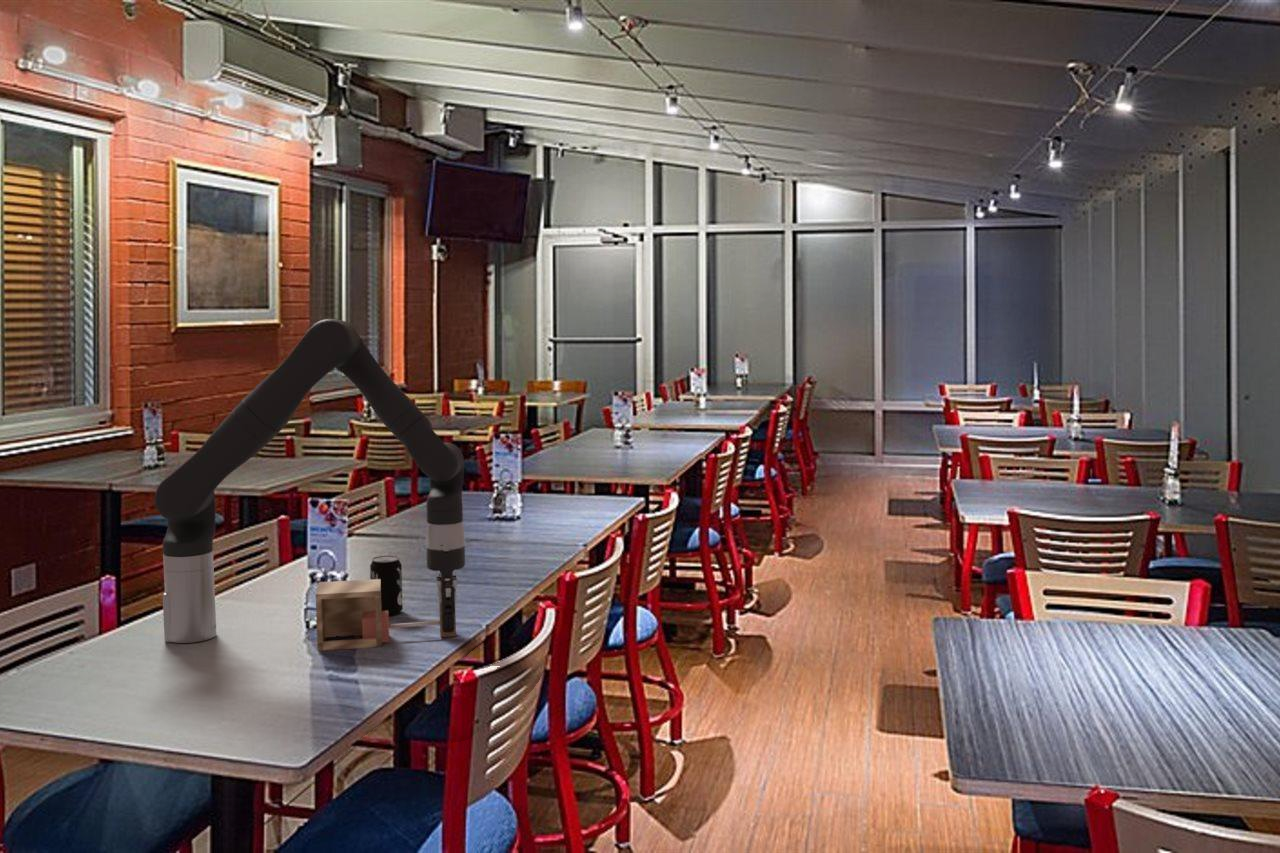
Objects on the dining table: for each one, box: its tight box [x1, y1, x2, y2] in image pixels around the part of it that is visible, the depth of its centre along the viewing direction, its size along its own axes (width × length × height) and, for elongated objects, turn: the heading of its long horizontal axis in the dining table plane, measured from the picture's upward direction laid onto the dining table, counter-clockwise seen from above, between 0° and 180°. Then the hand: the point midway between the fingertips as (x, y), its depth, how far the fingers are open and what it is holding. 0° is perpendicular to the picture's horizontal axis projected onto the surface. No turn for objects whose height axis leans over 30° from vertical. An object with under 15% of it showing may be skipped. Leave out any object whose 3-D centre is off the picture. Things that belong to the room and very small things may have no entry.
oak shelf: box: [315, 579, 383, 652], centre depth 228 cm, size 12×10×11 cm
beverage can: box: [369, 554, 404, 617], centre depth 249 cm, size 7×7×12 cm
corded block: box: [362, 601, 457, 644], centre depth 230 cm, size 18×5×7 cm, turn 102°
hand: (447, 628), depth 232 cm, fingers closed on corded block, 3 cm apart
